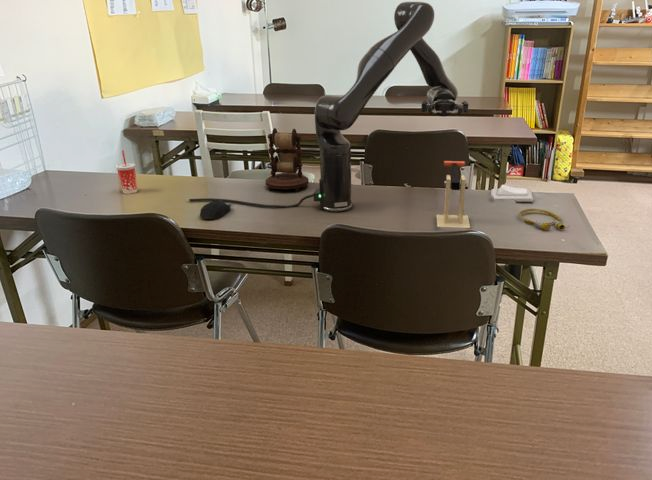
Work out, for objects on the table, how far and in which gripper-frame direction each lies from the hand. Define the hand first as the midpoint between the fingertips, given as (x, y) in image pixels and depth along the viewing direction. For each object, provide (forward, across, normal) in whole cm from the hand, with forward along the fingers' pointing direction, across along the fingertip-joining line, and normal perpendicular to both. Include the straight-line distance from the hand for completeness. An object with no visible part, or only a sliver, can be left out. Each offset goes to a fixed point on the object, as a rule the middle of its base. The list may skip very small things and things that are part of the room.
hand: (445, 110), depth 166 cm
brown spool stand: (-10, -52, +28) cm, 60 cm away
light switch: (-5, +23, +28) cm, 37 cm away
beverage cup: (0, -104, +28) cm, 108 cm away
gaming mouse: (+18, -67, +28) cm, 75 cm away
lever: (+17, +3, +16) cm, 23 cm away
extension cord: (+17, +28, +28) cm, 43 cm away
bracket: (+22, +3, +28) cm, 36 cm away
